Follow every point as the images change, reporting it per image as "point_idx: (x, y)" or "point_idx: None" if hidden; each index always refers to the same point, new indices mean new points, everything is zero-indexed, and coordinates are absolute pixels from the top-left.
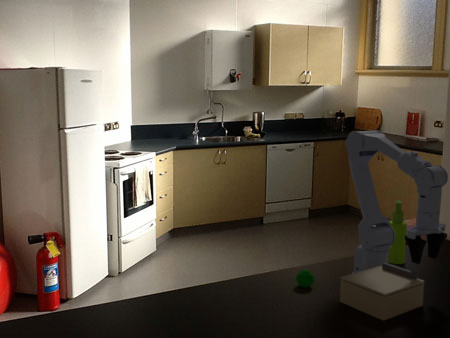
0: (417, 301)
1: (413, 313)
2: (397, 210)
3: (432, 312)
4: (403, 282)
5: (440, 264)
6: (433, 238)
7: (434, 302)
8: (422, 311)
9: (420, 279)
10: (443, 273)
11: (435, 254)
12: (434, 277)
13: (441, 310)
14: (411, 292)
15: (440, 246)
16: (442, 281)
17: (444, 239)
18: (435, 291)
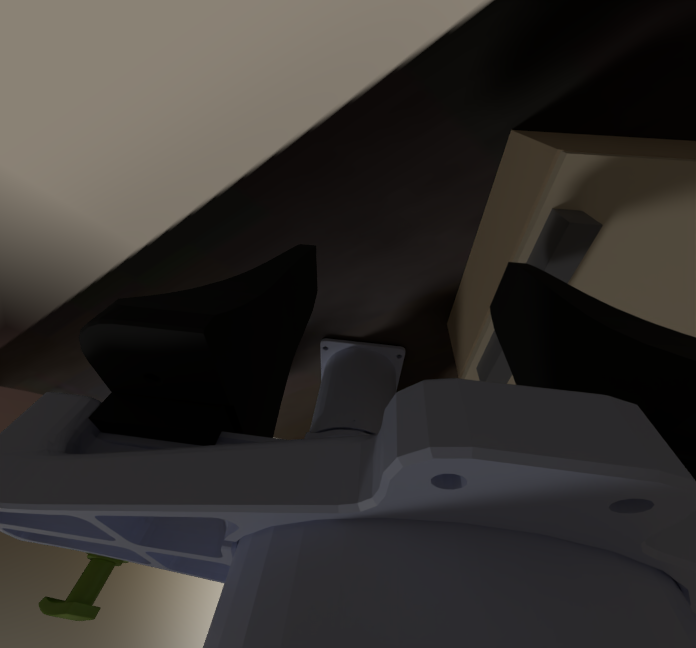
0: (569, 137)
1: (646, 101)
2: (109, 566)
3: (578, 32)
4: (681, 224)
5: (89, 306)
6: (266, 376)
7: (427, 114)
8: (591, 83)
9: (551, 185)
10: (131, 264)
11: (307, 261)
12: (191, 264)
13: (516, 11)
14: (677, 152)
15: (251, 274)
16: (192, 227)
17: (179, 295)
18: (303, 188)
